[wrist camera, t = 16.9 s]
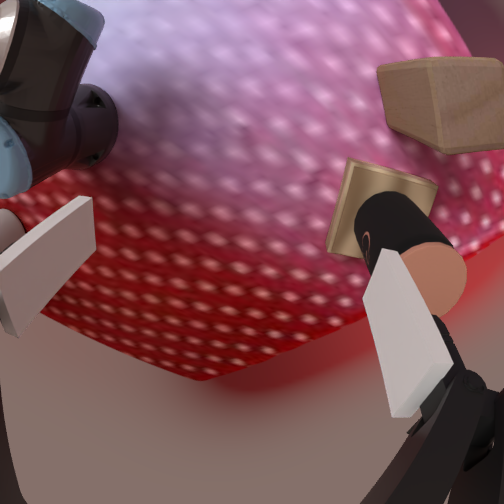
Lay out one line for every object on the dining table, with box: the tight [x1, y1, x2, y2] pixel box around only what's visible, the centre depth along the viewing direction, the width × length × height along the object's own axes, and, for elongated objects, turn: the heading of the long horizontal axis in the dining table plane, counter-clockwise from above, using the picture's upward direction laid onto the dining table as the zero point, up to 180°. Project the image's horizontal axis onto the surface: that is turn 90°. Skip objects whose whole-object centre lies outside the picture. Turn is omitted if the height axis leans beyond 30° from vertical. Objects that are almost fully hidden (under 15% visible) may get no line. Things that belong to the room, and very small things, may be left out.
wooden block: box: [377, 57, 504, 155], centre depth 31 cm, size 10×10×20 cm
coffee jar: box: [354, 191, 467, 318], centre depth 39 cm, size 11×11×18 cm
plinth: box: [325, 157, 439, 259], centre depth 48 cm, size 15×15×4 cm
